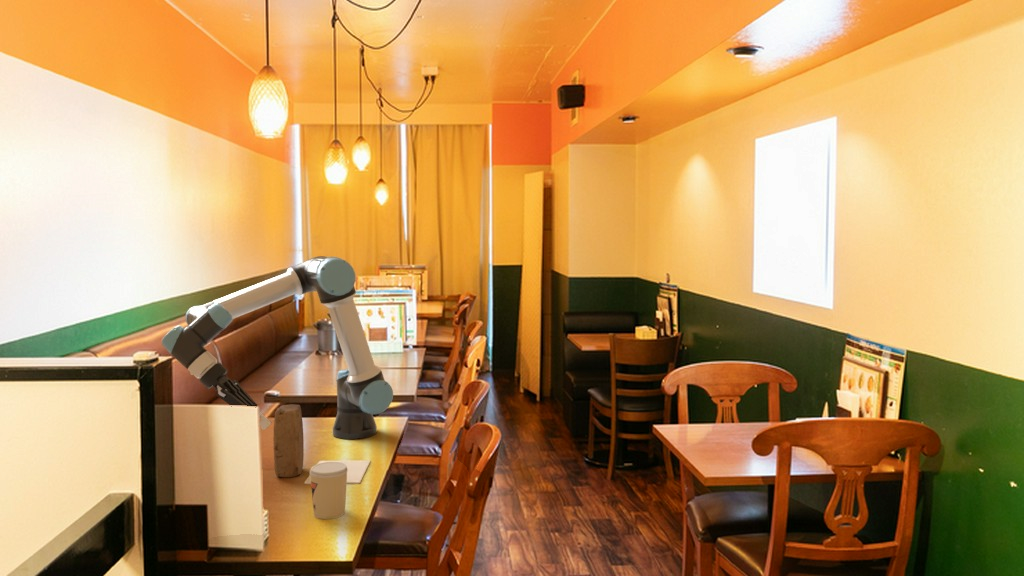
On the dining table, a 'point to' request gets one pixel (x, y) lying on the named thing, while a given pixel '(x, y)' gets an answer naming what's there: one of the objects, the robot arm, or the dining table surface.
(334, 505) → the coffee cup
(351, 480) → the mat
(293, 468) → the block
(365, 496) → the dining table surface
